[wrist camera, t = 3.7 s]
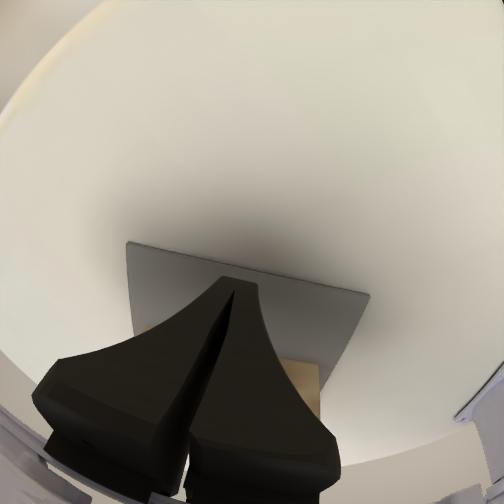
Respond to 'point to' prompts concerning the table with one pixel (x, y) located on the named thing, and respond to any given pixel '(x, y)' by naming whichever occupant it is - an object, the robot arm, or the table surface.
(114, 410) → the robot arm
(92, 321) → the table surface
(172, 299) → the rubber mat
